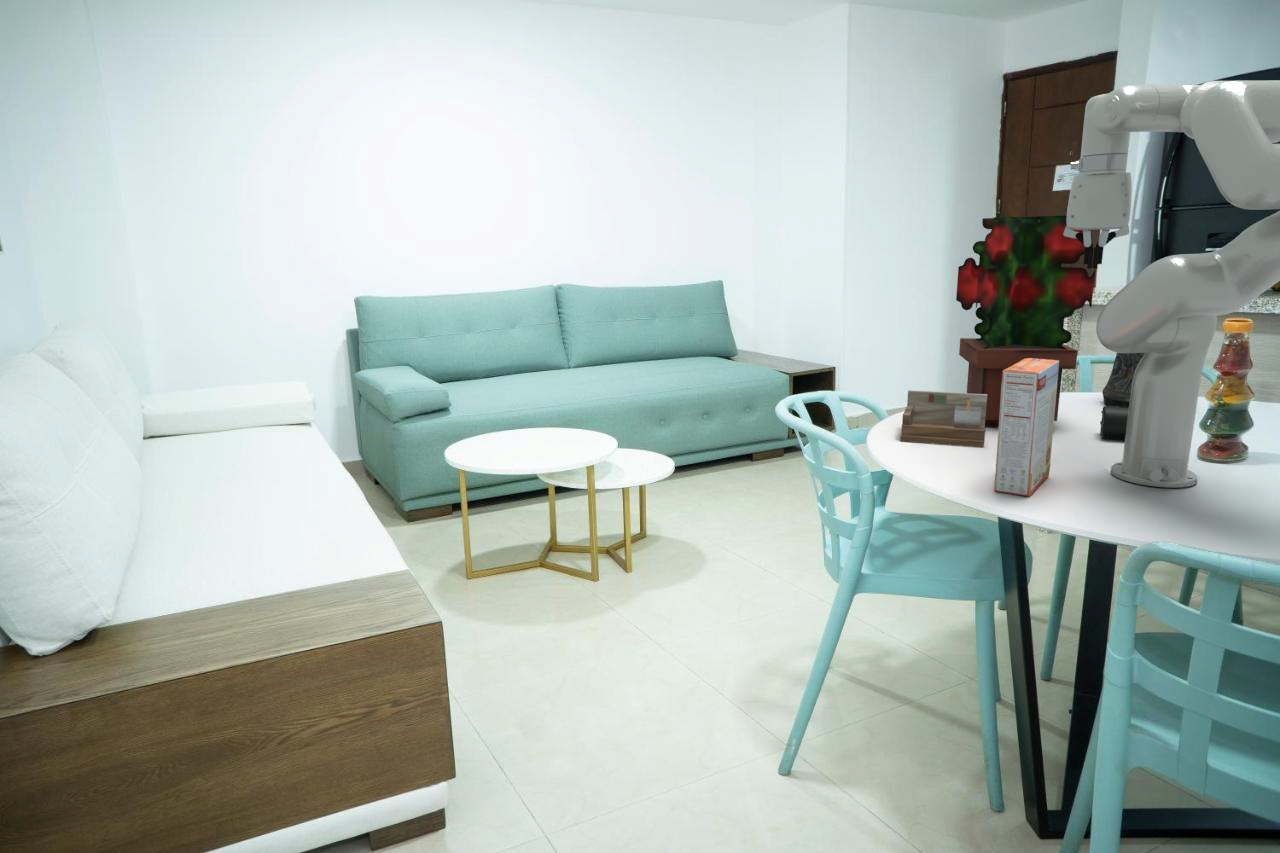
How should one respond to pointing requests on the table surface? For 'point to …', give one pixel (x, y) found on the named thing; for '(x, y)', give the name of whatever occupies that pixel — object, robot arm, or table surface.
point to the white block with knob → (967, 417)
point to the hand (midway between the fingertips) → (1092, 268)
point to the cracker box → (1026, 425)
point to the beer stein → (1121, 379)
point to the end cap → (1114, 422)
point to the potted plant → (1020, 300)
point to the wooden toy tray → (941, 418)
